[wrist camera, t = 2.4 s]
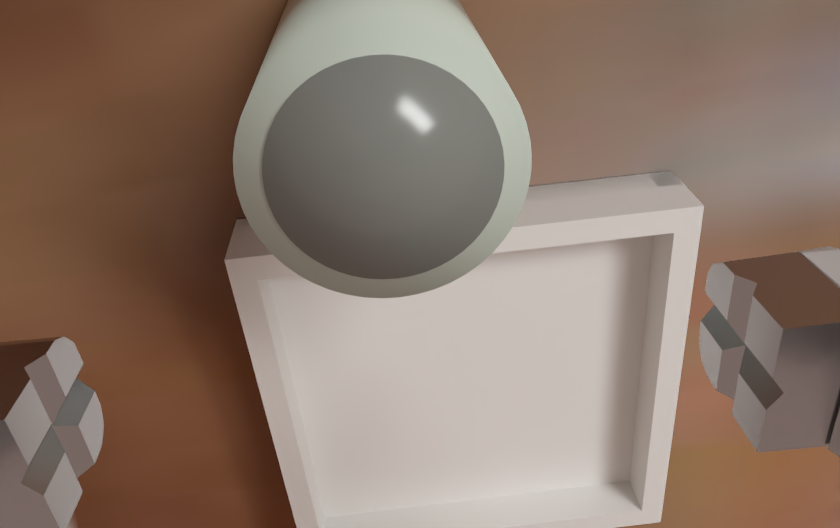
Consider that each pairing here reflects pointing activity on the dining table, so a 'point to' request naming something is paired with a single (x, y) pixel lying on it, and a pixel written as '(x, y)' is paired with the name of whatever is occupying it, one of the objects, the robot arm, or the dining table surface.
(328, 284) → the sage cup
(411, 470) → the grey tray
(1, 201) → the dining table surface
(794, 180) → the dining table surface
